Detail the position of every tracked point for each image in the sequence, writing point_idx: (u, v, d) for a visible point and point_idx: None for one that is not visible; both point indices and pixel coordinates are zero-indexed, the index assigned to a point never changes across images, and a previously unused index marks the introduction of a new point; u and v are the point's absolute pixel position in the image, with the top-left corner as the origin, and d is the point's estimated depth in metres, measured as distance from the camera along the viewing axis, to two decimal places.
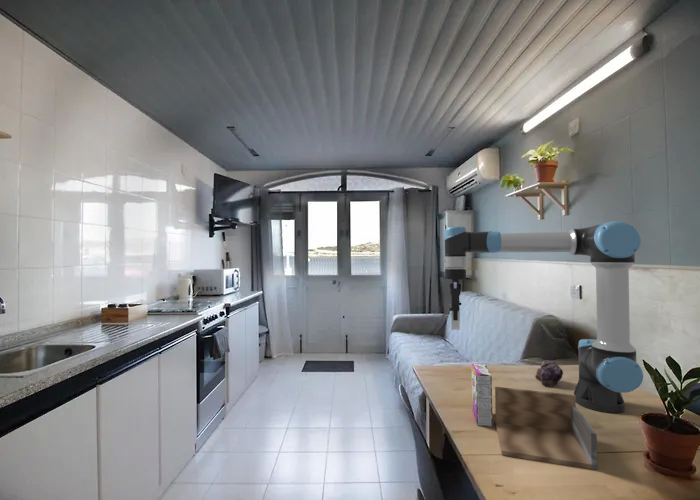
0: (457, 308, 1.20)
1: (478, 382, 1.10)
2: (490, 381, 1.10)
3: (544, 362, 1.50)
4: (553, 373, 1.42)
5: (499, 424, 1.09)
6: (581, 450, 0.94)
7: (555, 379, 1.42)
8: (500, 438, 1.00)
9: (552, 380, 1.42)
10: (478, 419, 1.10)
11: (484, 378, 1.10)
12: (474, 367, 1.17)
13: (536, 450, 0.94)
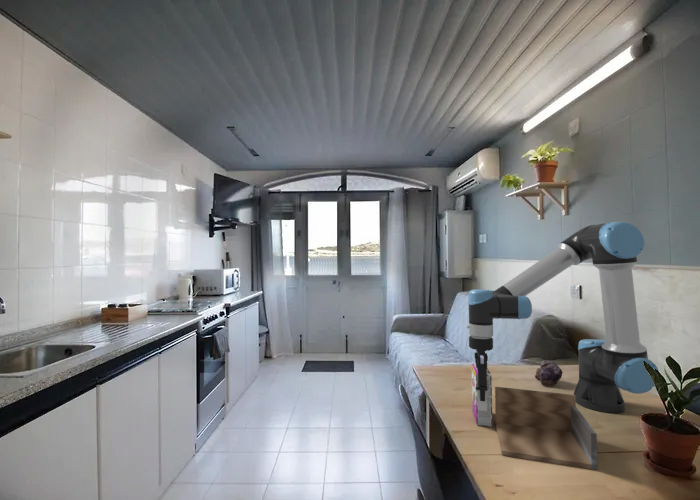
0: (485, 389, 1.06)
1: None
2: (490, 381, 1.10)
3: (544, 362, 1.50)
4: (553, 373, 1.42)
5: (499, 424, 1.09)
6: (581, 450, 0.94)
7: (554, 379, 1.42)
8: (500, 438, 1.00)
9: (551, 380, 1.42)
10: (478, 419, 1.10)
11: None
12: (474, 367, 1.17)
13: (536, 450, 0.94)
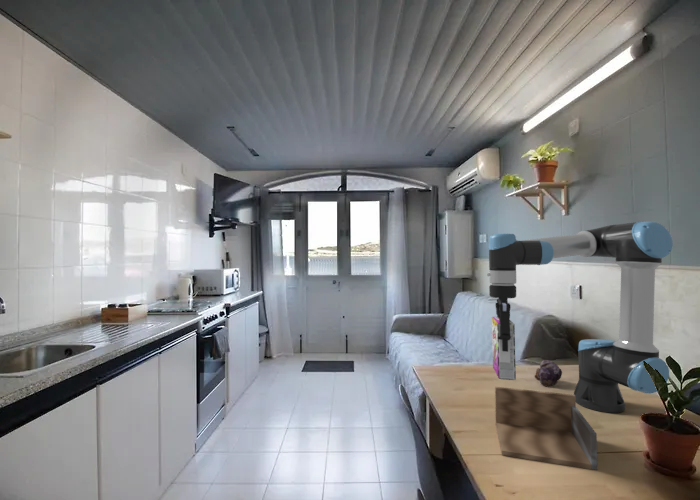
0: (508, 337, 0.97)
1: None
2: (513, 330, 1.00)
3: (543, 362, 1.50)
4: (552, 373, 1.42)
5: (499, 424, 1.09)
6: (581, 450, 0.94)
7: (554, 379, 1.42)
8: (500, 438, 1.00)
9: (551, 380, 1.42)
10: (500, 372, 1.01)
11: None
12: (495, 318, 1.08)
13: (536, 450, 0.94)
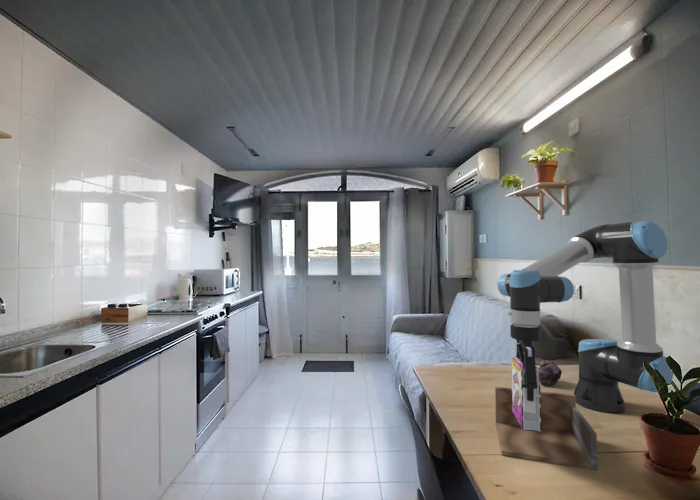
0: (535, 386, 0.89)
1: None
2: (538, 377, 0.92)
3: (543, 362, 1.50)
4: (552, 373, 1.43)
5: (499, 424, 1.09)
6: (581, 450, 0.94)
7: (553, 379, 1.43)
8: (500, 438, 1.00)
9: (550, 380, 1.42)
10: (524, 422, 0.93)
11: None
12: (516, 361, 1.00)
13: (536, 450, 0.94)
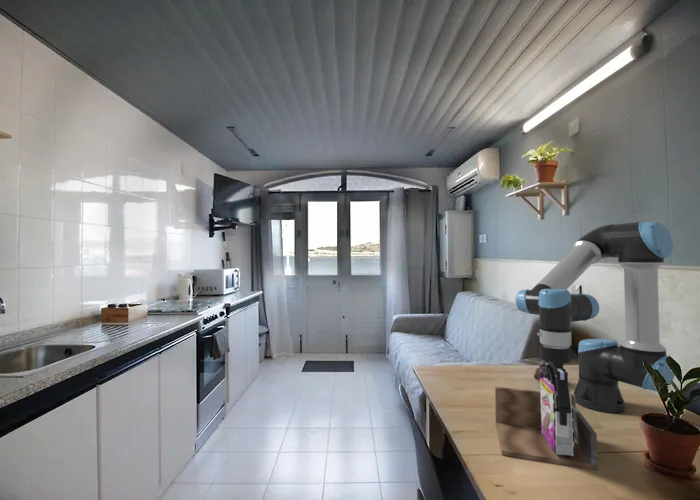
0: (568, 411, 0.87)
1: None
2: (571, 401, 0.90)
3: (543, 362, 1.50)
4: None
5: (499, 424, 1.09)
6: (581, 450, 0.94)
7: None
8: (500, 438, 1.00)
9: None
10: (556, 447, 0.91)
11: None
12: (546, 382, 0.97)
13: (536, 450, 0.94)
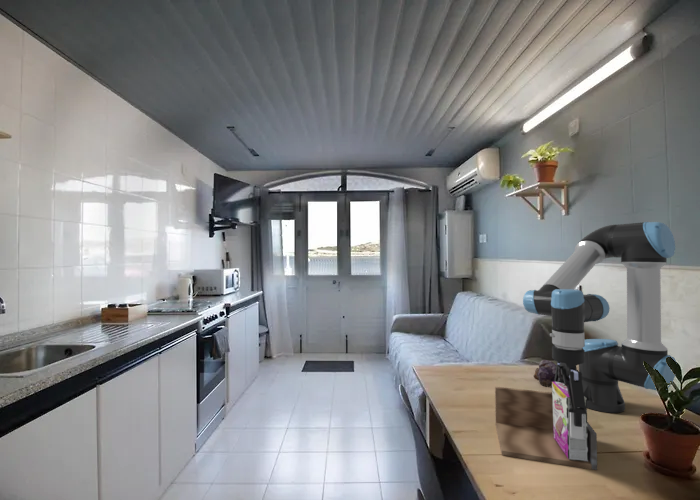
0: (584, 412, 0.85)
1: (570, 406, 0.89)
2: (585, 405, 0.89)
3: (542, 362, 1.50)
4: (551, 373, 1.43)
5: (499, 424, 1.09)
6: None
7: (553, 379, 1.43)
8: (500, 438, 1.00)
9: (549, 379, 1.43)
10: (570, 452, 0.89)
11: None
12: (558, 386, 0.96)
13: (536, 450, 0.94)
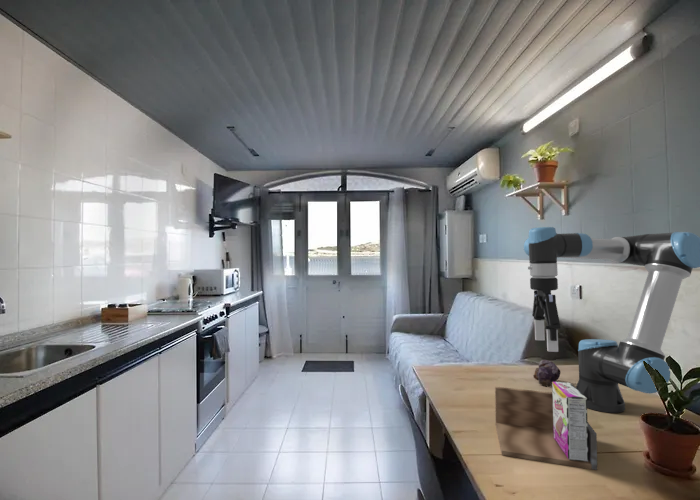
0: (558, 326, 0.99)
1: (570, 406, 0.89)
2: (585, 405, 0.89)
3: (542, 362, 1.50)
4: (550, 373, 1.43)
5: (499, 424, 1.09)
6: None
7: (552, 379, 1.43)
8: (500, 438, 1.00)
9: (549, 379, 1.43)
10: (570, 452, 0.89)
11: (578, 401, 0.89)
12: (558, 386, 0.96)
13: (536, 450, 0.94)
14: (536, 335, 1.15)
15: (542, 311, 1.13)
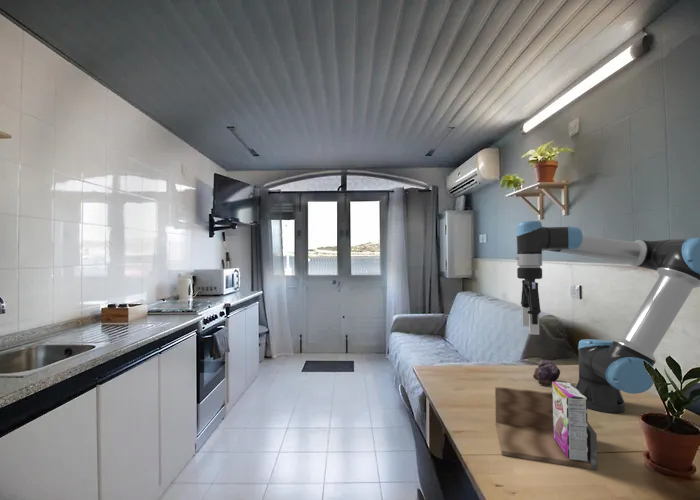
0: (538, 311, 1.08)
1: (570, 406, 0.89)
2: (585, 405, 0.89)
3: (542, 361, 1.50)
4: (550, 373, 1.43)
5: (499, 424, 1.09)
6: None
7: (552, 379, 1.43)
8: (500, 438, 1.00)
9: (549, 379, 1.43)
10: (570, 452, 0.89)
11: (578, 401, 0.89)
12: (559, 386, 0.96)
13: (536, 450, 0.94)
14: (523, 321, 1.24)
15: None
